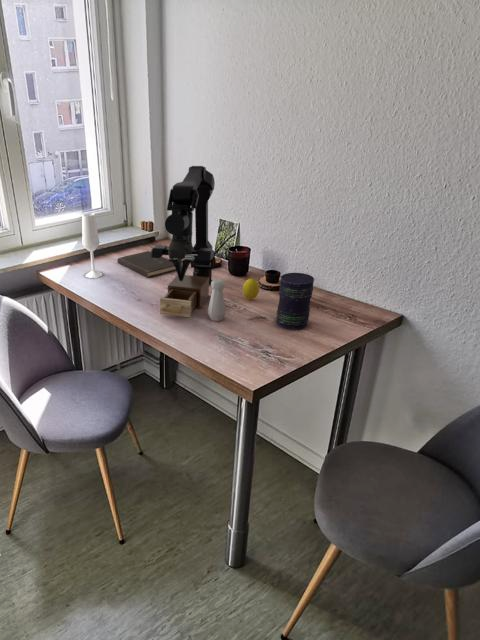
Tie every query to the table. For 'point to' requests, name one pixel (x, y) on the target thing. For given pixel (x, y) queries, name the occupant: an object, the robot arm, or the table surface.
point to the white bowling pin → (217, 301)
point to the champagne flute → (90, 239)
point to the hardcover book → (147, 264)
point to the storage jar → (294, 301)
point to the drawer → (178, 302)
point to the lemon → (251, 288)
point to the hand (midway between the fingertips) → (181, 280)
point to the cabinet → (193, 287)
